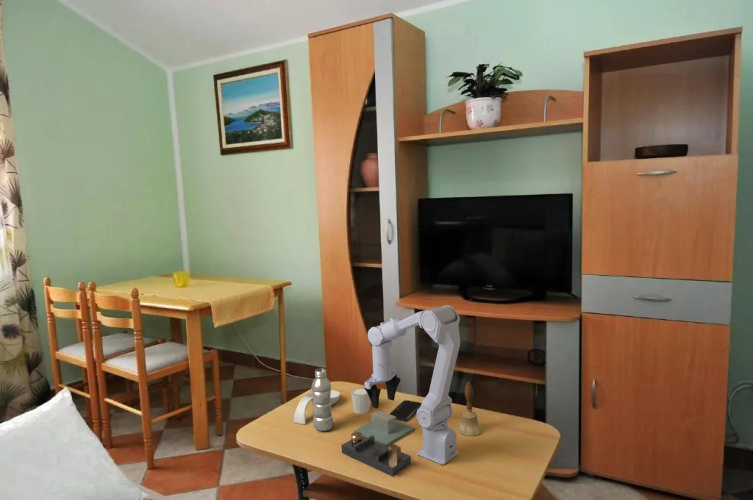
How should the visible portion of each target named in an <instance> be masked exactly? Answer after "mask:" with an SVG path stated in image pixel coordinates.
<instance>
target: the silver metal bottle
mask: <svg viewBox="0 0 753 500" xmlns="http://www.w3.org/2000/svg"><path fill="white" fill-rule="evenodd" d="M327 375H328V373H327V369H326V368H317V369H315V371H314V377H315V378H314V380H313V381H312V383H311V387H310V388H311V392H312V393H313V398H314V404H313V405H314V408H313V409H314V410H313V411H314V412H313V421H312V422H313V427H314V428H315V429H316V430H317V431H319V432H326V431H329V430H331V429H332V427H333V426H334V416H333V413H332V405H330V396H331V390H332V384H331V381H330V380H329V379H328V377H327Z"/></svg>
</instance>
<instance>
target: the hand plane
mask: <svg viewBox="0 0 753 500" xmlns="http://www.w3.org/2000/svg"><path fill="white" fill-rule="evenodd" d="M350 437H351V438H350V440H348V441H346V442H345V443H343V444H341V454H343V455H345V456H348V457H350V458H352V459H354V460H356V461H358V462H361V463H362V464H365V465H367V466H369V467H371V468H373V469H375V470H377V471H379V472H381V473H384V474H386V475H388V476H390V477H392V478H393V477H394V476H396V475H397V474H399V473H401V472H402V471H404V470H405V469H406V468H408V467H409V466H411V465H412V456H411V455H409V454H406V452H403V451H402V450H401V449H402V448H401V447H400V446H398V445H397V444H394V443H392V444H390V445H389V446H386V445H383V444H381V443H378V442H376V441H375V437H374V436H373V435H372V436H370V437H368V438H366V437H364V436H362V433H360V432H354V431H353V432H352V433H351V434H350Z"/></svg>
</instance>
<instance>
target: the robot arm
mask: <svg viewBox="0 0 753 500" xmlns="http://www.w3.org/2000/svg"><path fill="white" fill-rule="evenodd" d="M460 320H461V317H460V315H459V314H458V312H457V311H456V309H455V308H454V307H453V306H452V305H449V304H444V305H443V306H441V307H440V306H438V307H433V308H429V309H425V310H422V311H418V312H416V313H413V314H412V315H410V316H408V317H406V318H403V319H402V318H401V317H396V316H394V317H391V318H389V321H383V322H381V323H379V324H380V325H377V326H372V327H371V328H370V329H368V331H367V340H368V341H369V343H370V344H371V349H372V351H371V352H372V354H371V355H372V370H373V371H372V373H371V376H370V377H369V378H368V379H367V380H365V381H364V386H363V387H364V389H365V390H366V392H367V394H368V396H369V398H370V404H371V407H372V408H373V409H379V406H380V394H381V392H382V388H380V387H378V386H377V385H379V384H381V383H385V387H386V395H387V400H389V401H392V402H394V401H395V398H396V393H397V389H398V387H399V385H400V382H401V378H400V377H399V376H400V370H399V369H395V368H393V369H392V367H391V365H392V363H391V362H392V361H391V360H392V359H391V347H392V342H393V340H395V339H398V338H401V337H403V336H405V335H406V334H407V331H408V330H409V329H412V328H414V327H417V326H419V328H421V329H424V331H425V332H426V334H427V335H428V336H429V337H430V338H431V339H432V340H433V341H434V342H435V343H436V344H438V351H437V354H436V359H435V362H434V363H435V364H434V367H433V371H432V372H433V373H432V375H431V376H432V377H431V382H430V387H429V391H428V394H427V395H426V396H425V397H424V398H423V400H422V401H421V403H422V404H421V407H420V408H419V409H418V410H417V413H416V418H417V421H418V423H419V425H420V426H421V428H422V448H421V449H420V450H419V451H417V452H416V455H418V456H421V457H422V458H425V459H427V460H429V461H432V462H434V463H436V464H439V465H442V466H444V465H445V464H447V463H449V461H451V460H452V459H453V458H455V457H456V456H458V454H459V452H458V448H457V445H458V444H457V432H456V430H454V429H452V428H451V427H450V426H449V425H448V424H449V419H450V418H451V417H452V416H453V407H452V402H453V399H452V398H451V396H449V392H450V389H451V384H452V380H453V376H454V372H455V368H456V363H457V359H458V355H459V350H460V347H461V337H460V331H459V330H460V328H459V324H460Z"/></svg>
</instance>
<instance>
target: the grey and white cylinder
mask: <svg viewBox="0 0 753 500" xmlns="http://www.w3.org/2000/svg"><path fill="white" fill-rule="evenodd" d="M350 393H351V401H352V408H353V412H354V413H355V414H357V415H363V414H364V415H365V414H367V413H369V411H370V406H371V405H370V404H371V401H370V398H369V396H368V394H367V392H366V390H365V389H364V388H355V389H352V390H351V391H350Z"/></svg>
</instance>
